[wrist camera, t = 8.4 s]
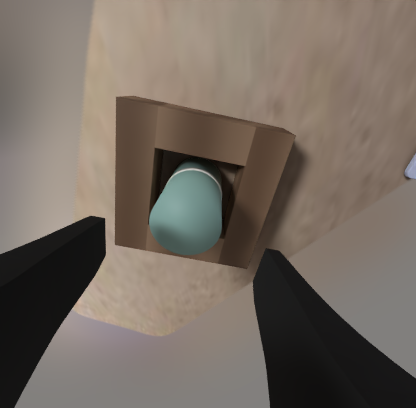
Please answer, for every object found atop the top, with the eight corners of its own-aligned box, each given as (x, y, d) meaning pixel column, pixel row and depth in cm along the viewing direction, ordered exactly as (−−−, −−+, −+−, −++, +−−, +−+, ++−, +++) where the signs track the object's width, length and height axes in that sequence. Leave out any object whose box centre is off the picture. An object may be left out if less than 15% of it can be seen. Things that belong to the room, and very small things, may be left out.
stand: (283, 128, 16) (295, 135, 14) (243, 246, 21) (246, 268, 19) (133, 96, 16) (116, 97, 13) (128, 225, 21) (114, 244, 18)
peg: (226, 162, 18) (230, 200, 11) (216, 206, 20) (214, 261, 13) (176, 152, 18) (151, 185, 11) (170, 198, 19) (146, 248, 13)
